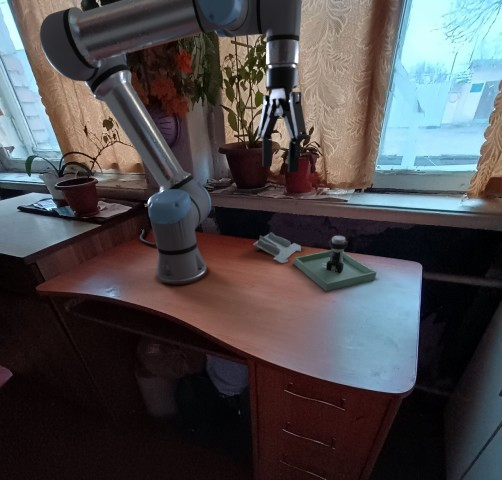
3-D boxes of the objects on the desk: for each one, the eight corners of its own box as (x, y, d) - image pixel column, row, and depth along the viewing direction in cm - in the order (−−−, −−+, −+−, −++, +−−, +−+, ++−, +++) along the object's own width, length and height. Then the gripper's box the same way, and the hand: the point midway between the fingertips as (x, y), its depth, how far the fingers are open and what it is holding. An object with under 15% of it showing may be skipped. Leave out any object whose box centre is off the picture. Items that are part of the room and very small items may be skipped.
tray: (294, 264, 100) (294, 257, 99) (337, 255, 104) (338, 248, 103) (326, 291, 86) (327, 283, 84) (374, 279, 90) (376, 272, 88)
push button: (318, 271, 94) (322, 238, 88) (325, 264, 98) (328, 232, 92) (340, 275, 91) (345, 242, 85) (346, 268, 95) (351, 236, 89)
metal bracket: (248, 240, 102) (271, 226, 112) (245, 255, 106) (267, 240, 116) (285, 259, 99) (305, 243, 108) (280, 274, 103) (300, 257, 112)
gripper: (328, 60, 65) (318, 173, 78) (269, 74, 84) (268, 163, 96) (299, 59, 63) (292, 176, 75) (244, 73, 81) (246, 165, 93)
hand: (279, 169), depth 85 cm, fingers open, 13 cm apart
